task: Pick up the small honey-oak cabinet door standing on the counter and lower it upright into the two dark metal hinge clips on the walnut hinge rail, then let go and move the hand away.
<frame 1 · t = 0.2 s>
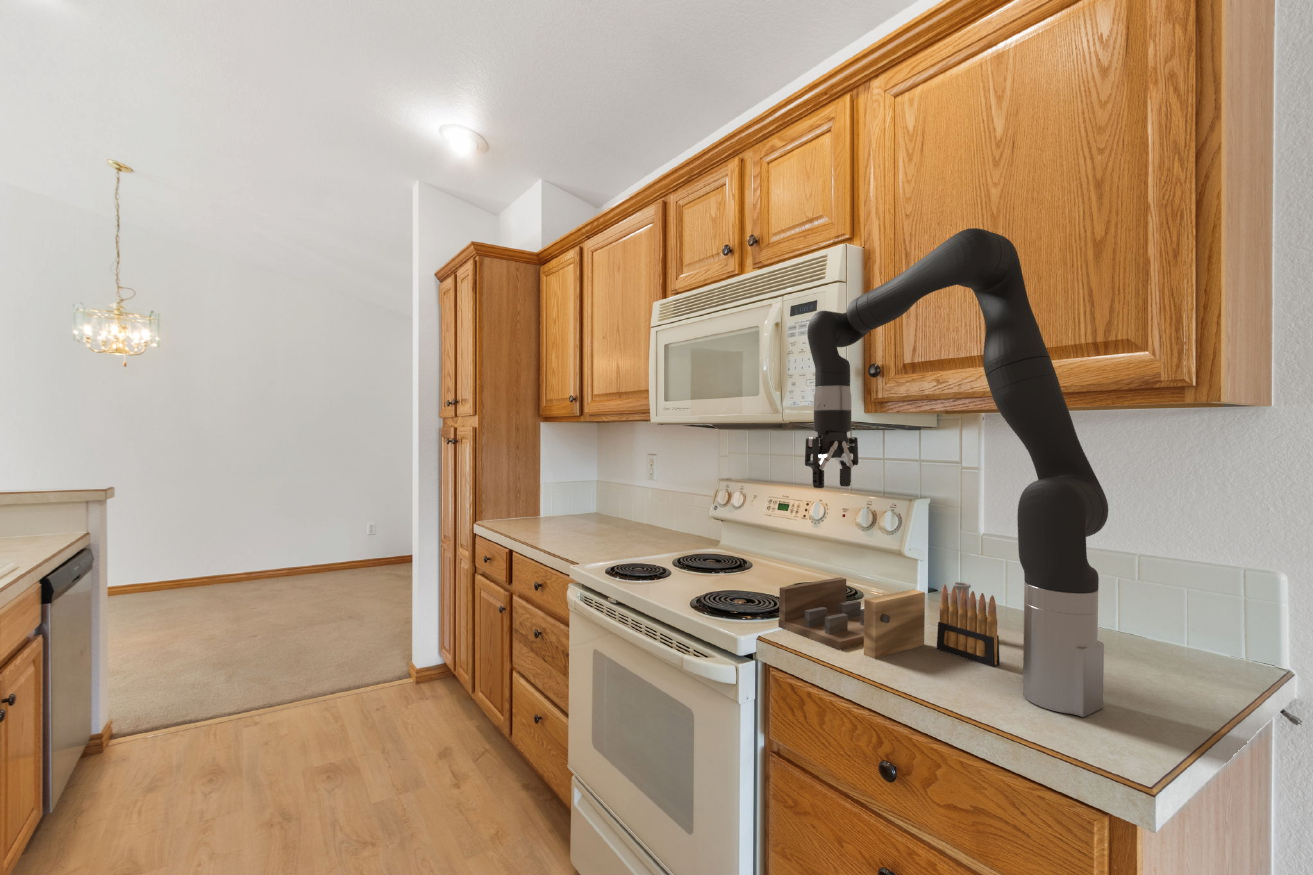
hand: (832, 487, 129), 28 cm above the counter, tool pointing down, fingers open, 8 cm apart
ammunition clip: (966, 658, 111), on the counter
door: (894, 650, 115), on the counter
hinge rail: (839, 630, 126), on the counter
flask: (960, 635, 124), on the counter
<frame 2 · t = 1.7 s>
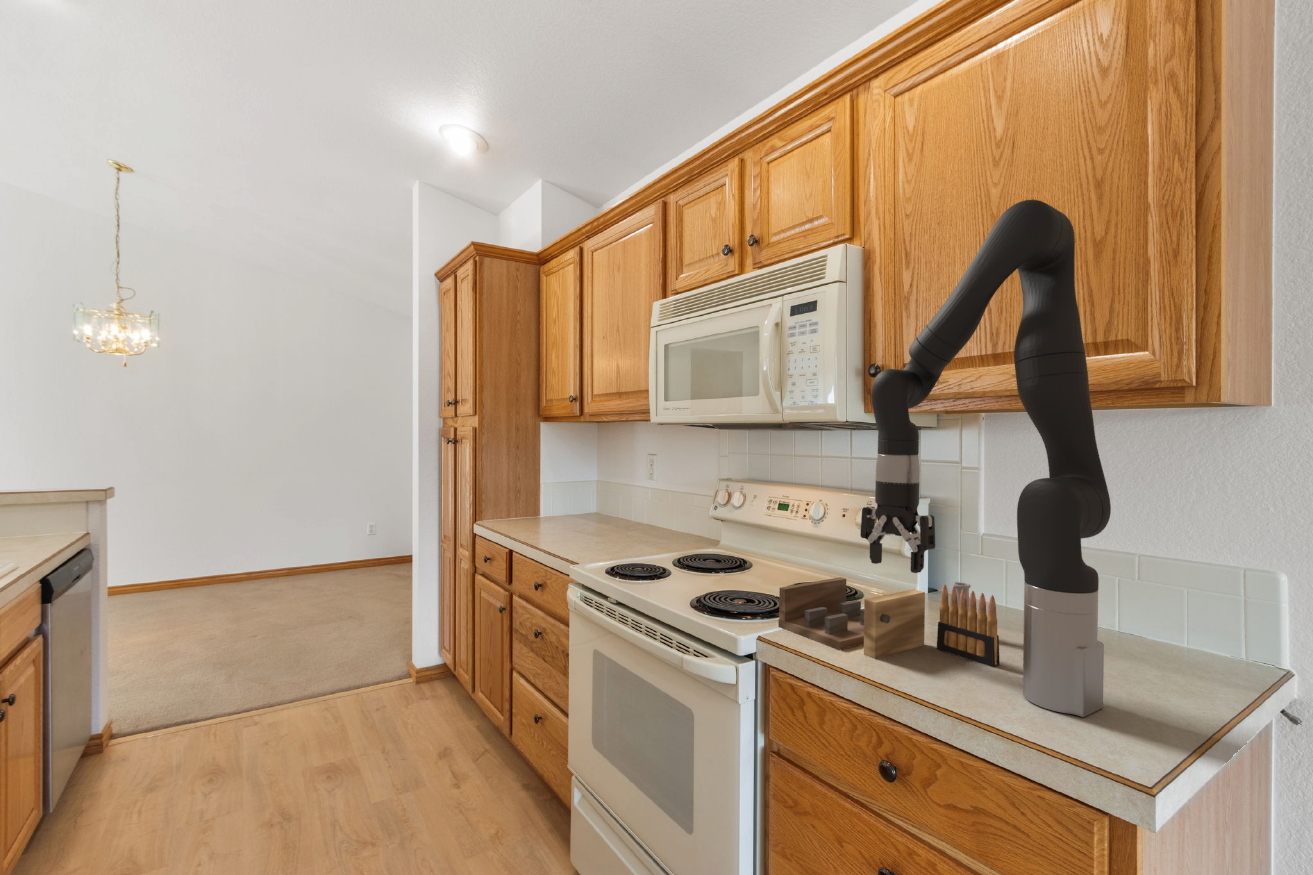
hand: (895, 567, 115), 15 cm above the counter, tool pointing down, fingers open, 8 cm apart
nothing on the counter moved.
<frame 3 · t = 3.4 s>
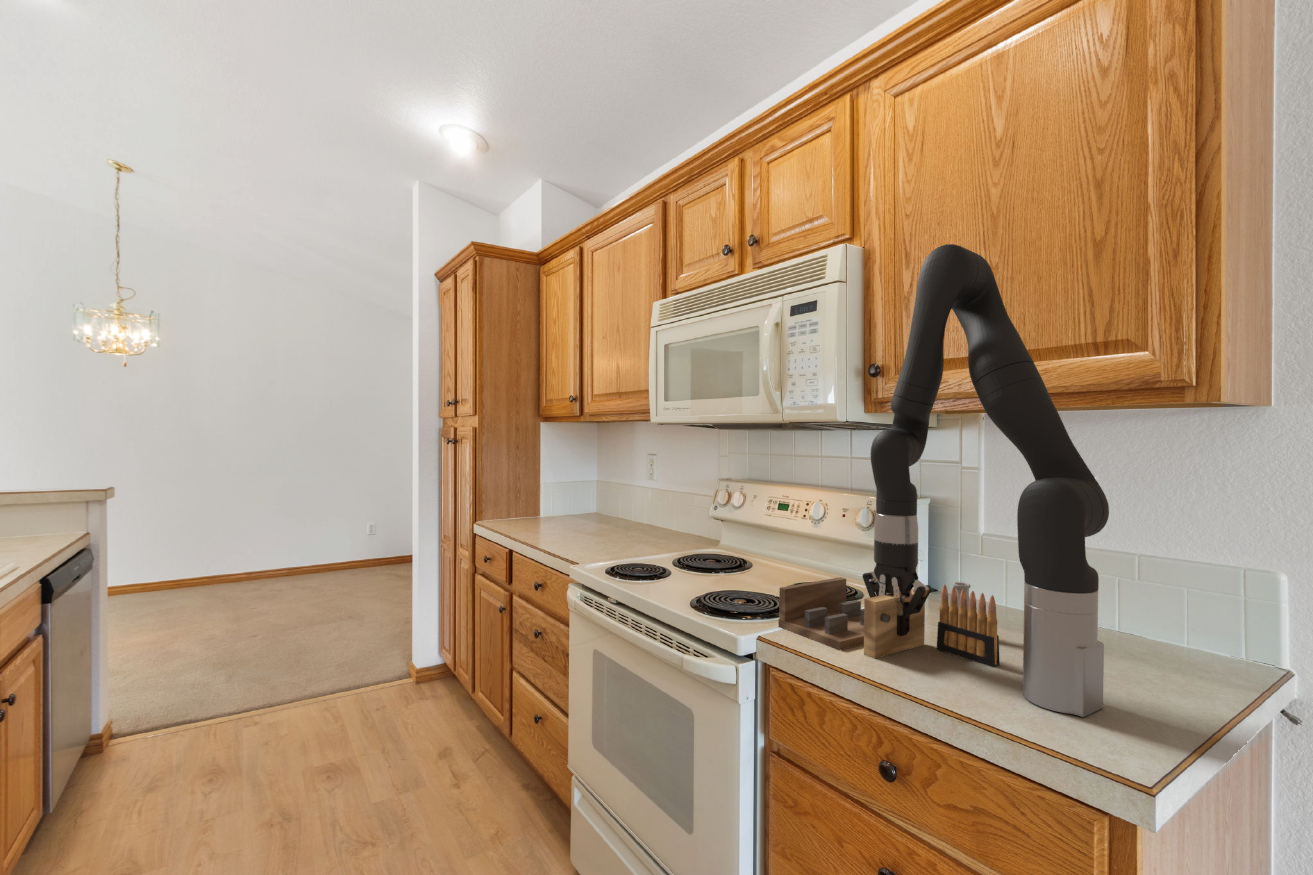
hand: (894, 632, 115), 3 cm above the counter, tool pointing down, fingers closed on door, 2 cm apart
door: (894, 649, 115), on the counter, touching gripper
everything else where it was.
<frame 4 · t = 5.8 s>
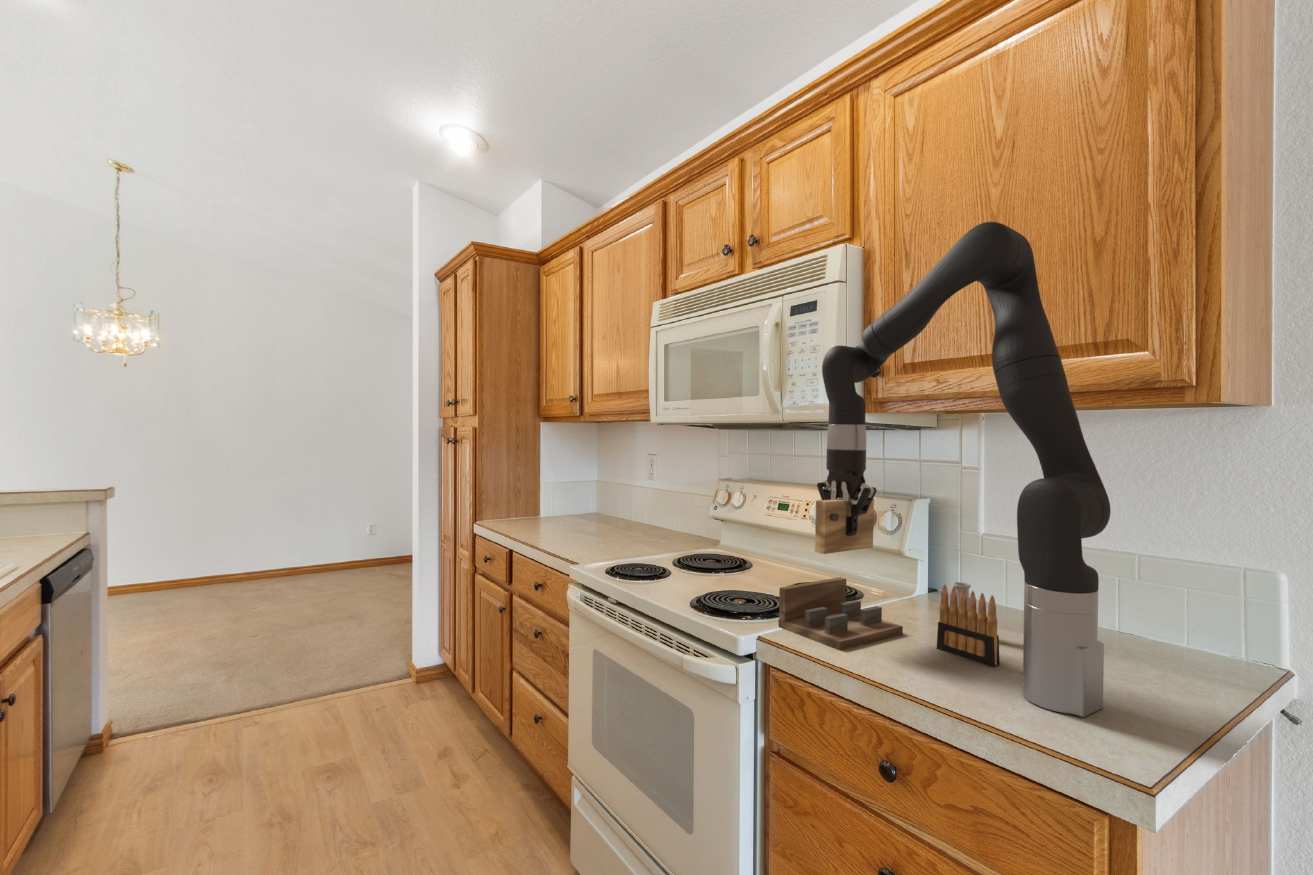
hand: (844, 533, 125), 19 cm above the counter, tool pointing down, fingers closed on door, 2 cm apart
door: (844, 549, 125), point 16 cm above the counter, touching gripper
everything else where it was.
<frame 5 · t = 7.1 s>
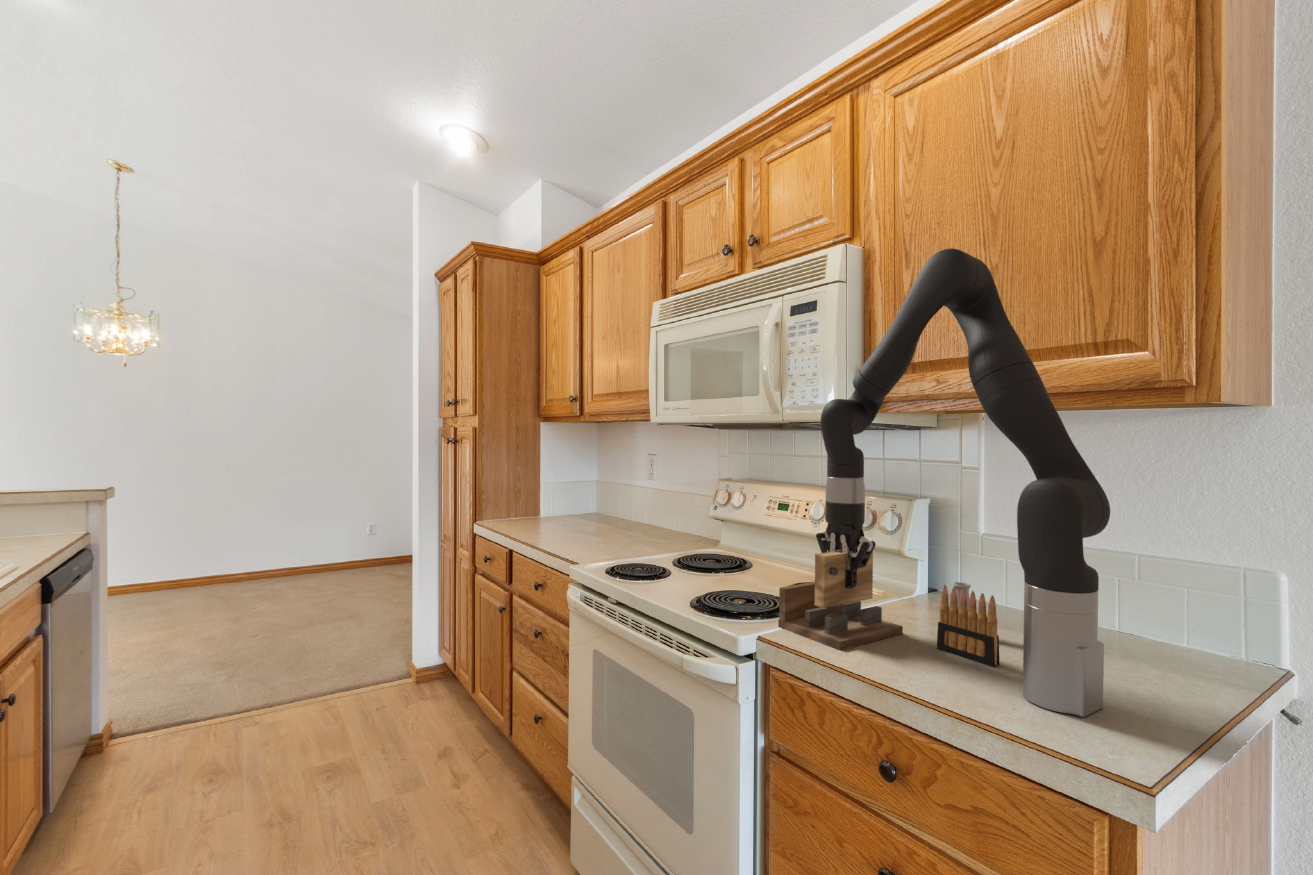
hand: (844, 585, 125), 9 cm above the counter, tool pointing down, fingers closed on door, 2 cm apart
door: (844, 601, 125), point 6 cm above the counter, touching gripper
everything else where it was.
when the fingers open (6 cm above the counter, at t = 8.0 s): door stays where it is, resting on hinge rail.
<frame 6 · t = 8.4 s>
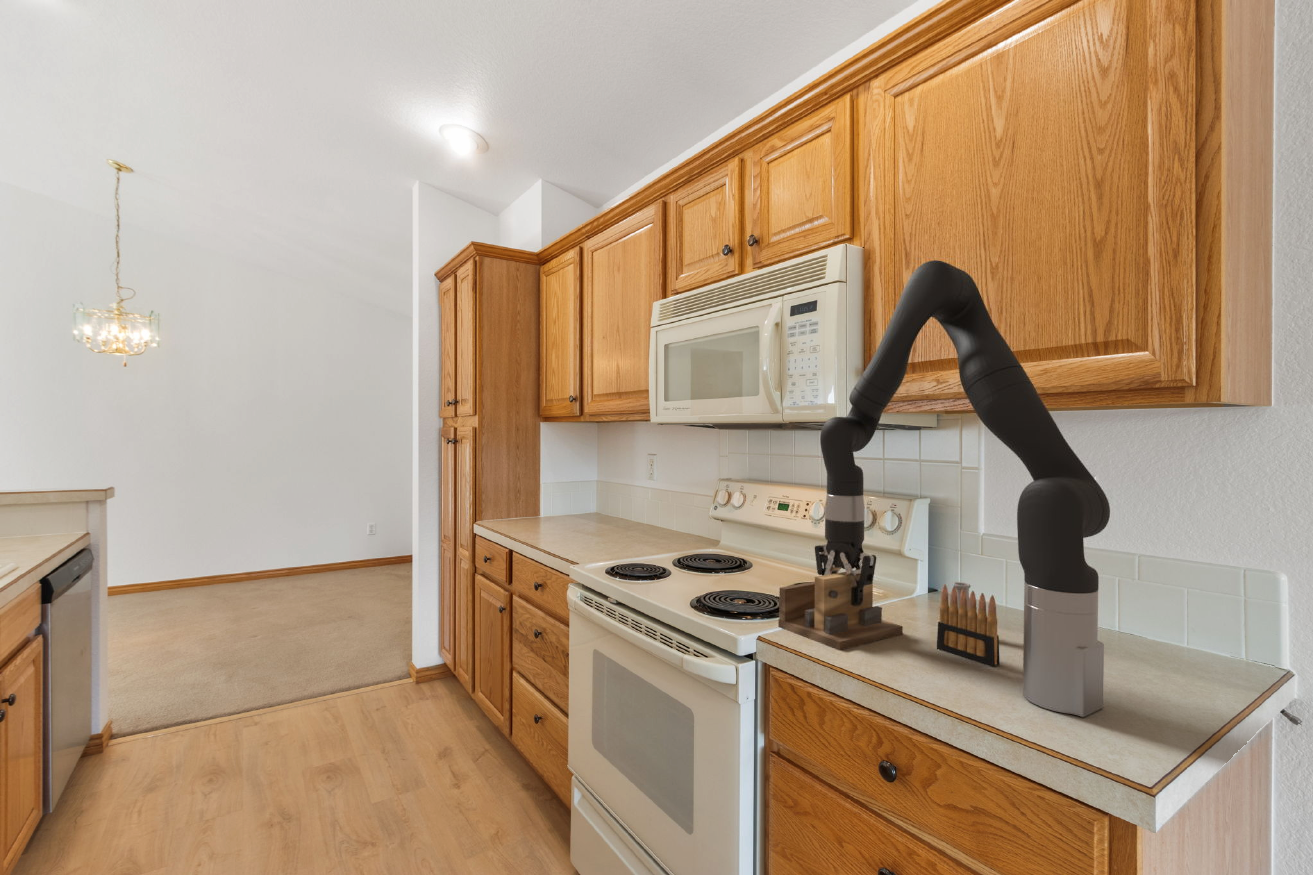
hand: (843, 601, 125), 6 cm above the counter, tool pointing down, fingers open, 5 cm apart
door: (844, 624, 125), point 2 cm above the counter, touching hinge rail
everything else where it was.
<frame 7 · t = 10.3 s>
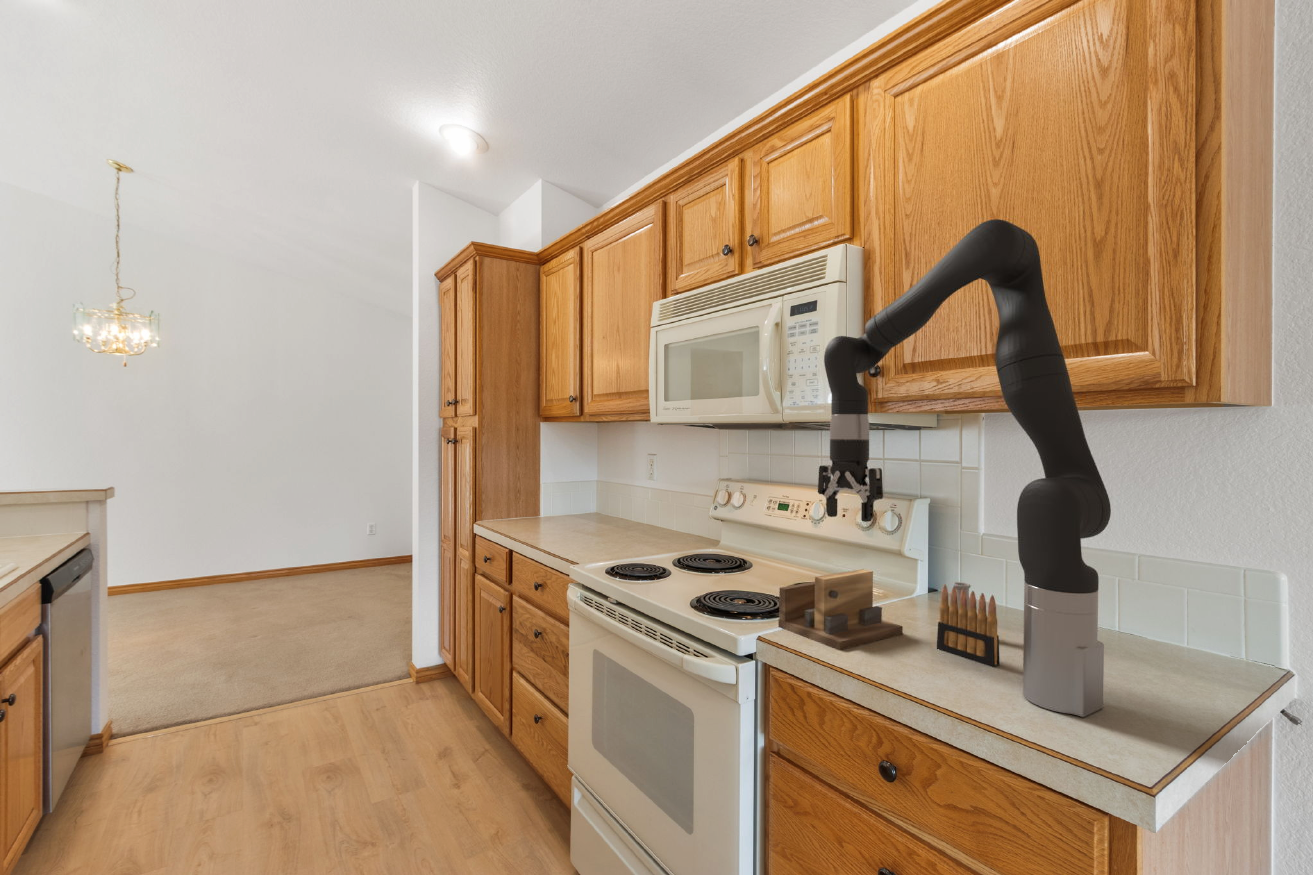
hand: (848, 518, 125), 22 cm above the counter, tool pointing down, fingers open, 8 cm apart
nothing on the counter moved.
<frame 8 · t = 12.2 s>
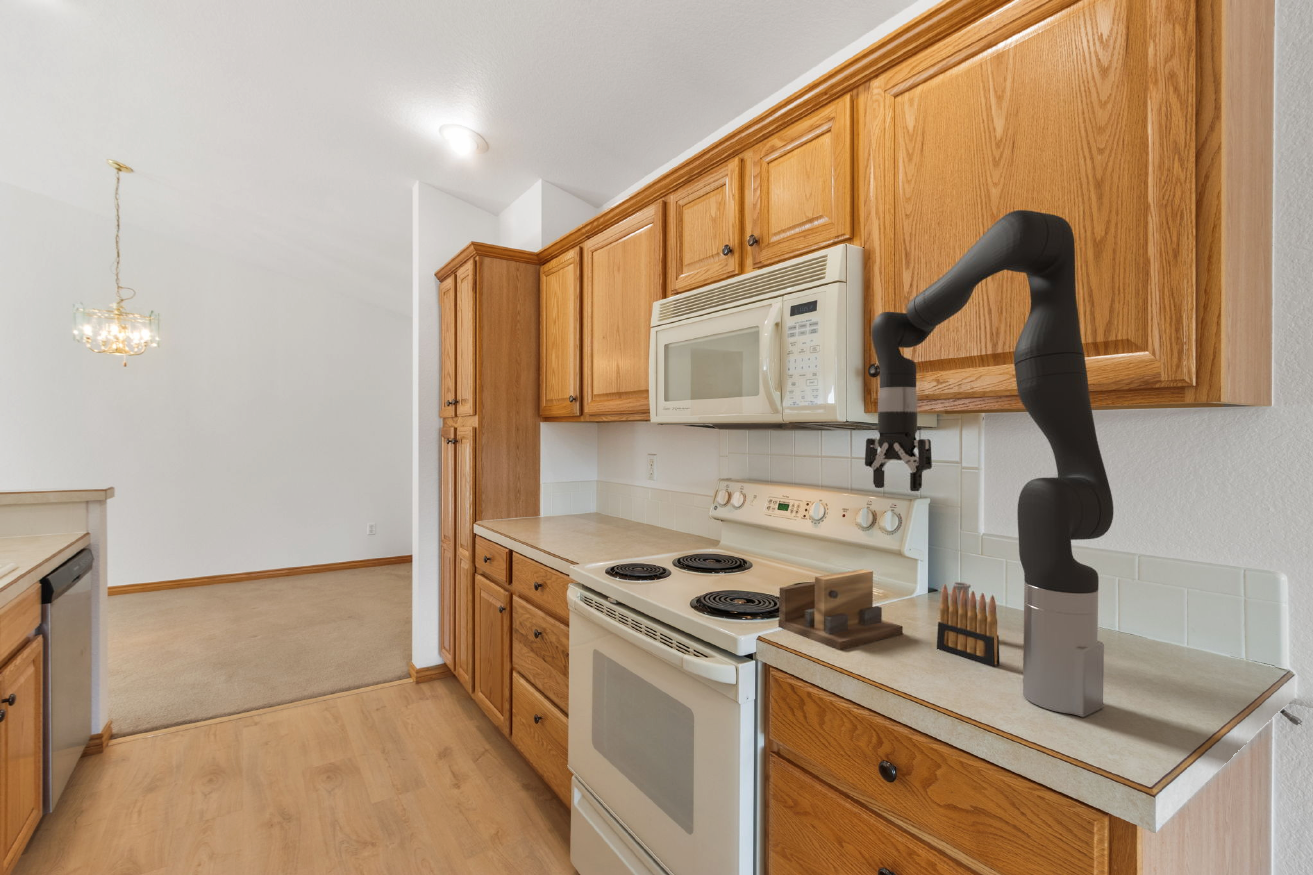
hand: (896, 489, 128), 28 cm above the counter, tool pointing down, fingers open, 8 cm apart
nothing on the counter moved.
at the end: door 0.1 cm from the target spot on the hinge rail, point 1.5 cm above the hinge rail's base; door tilted 0°; the gripper is holding nothing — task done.
